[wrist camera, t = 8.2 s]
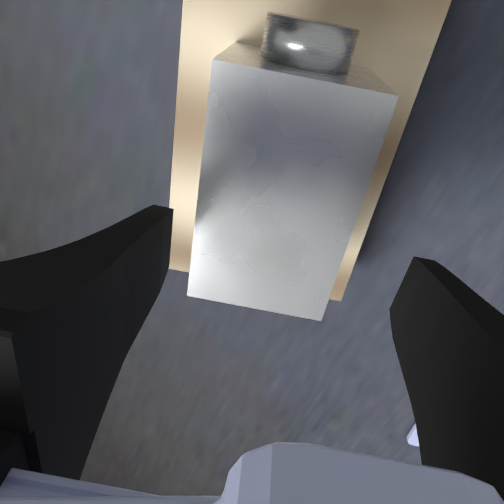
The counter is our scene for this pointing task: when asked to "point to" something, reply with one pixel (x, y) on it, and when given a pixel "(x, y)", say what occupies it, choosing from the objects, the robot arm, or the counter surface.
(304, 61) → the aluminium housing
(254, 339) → the counter surface
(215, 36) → the wood stand
